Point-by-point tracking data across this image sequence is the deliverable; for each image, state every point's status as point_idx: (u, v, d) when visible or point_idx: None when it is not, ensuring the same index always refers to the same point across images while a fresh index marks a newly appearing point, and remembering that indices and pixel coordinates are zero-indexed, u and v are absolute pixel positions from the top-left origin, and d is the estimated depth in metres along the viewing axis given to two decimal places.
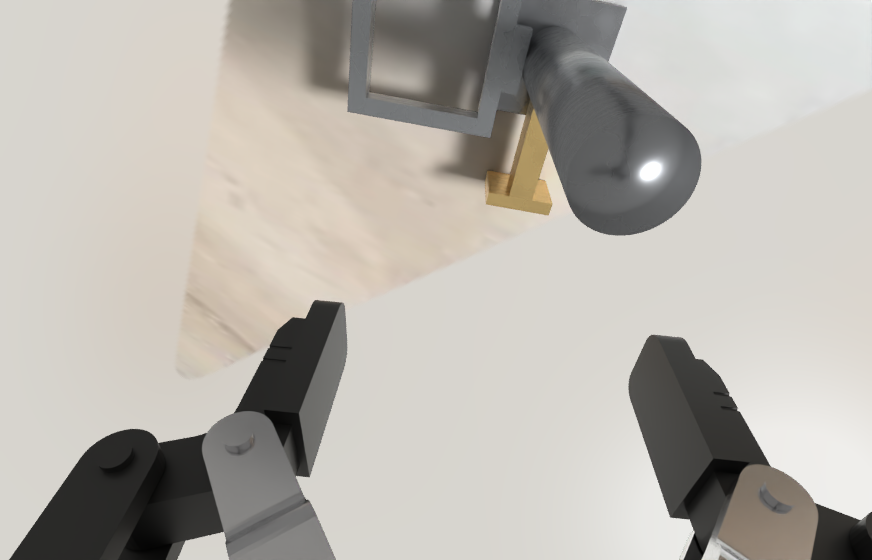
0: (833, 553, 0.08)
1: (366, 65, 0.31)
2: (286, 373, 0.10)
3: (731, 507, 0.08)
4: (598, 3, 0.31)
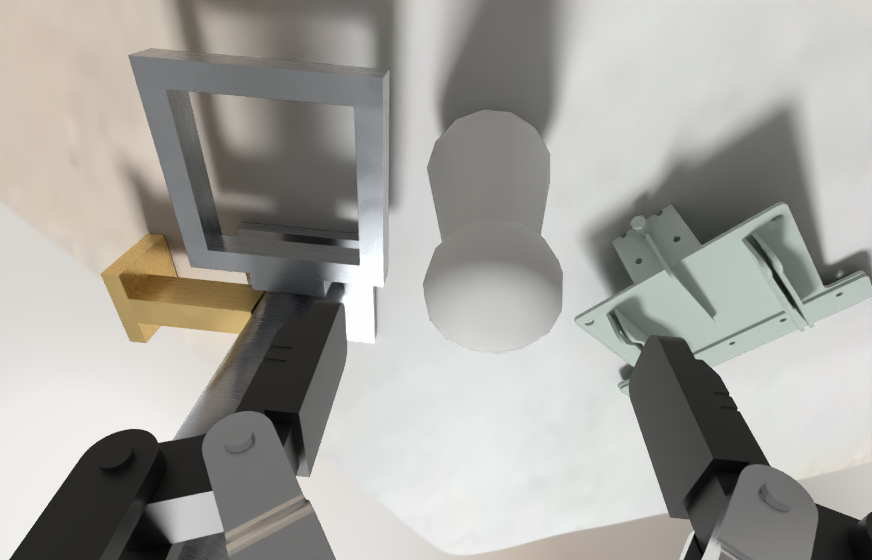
0: (833, 553, 0.08)
1: (214, 91, 0.19)
2: (286, 373, 0.10)
3: (731, 507, 0.08)
4: (372, 321, 0.30)
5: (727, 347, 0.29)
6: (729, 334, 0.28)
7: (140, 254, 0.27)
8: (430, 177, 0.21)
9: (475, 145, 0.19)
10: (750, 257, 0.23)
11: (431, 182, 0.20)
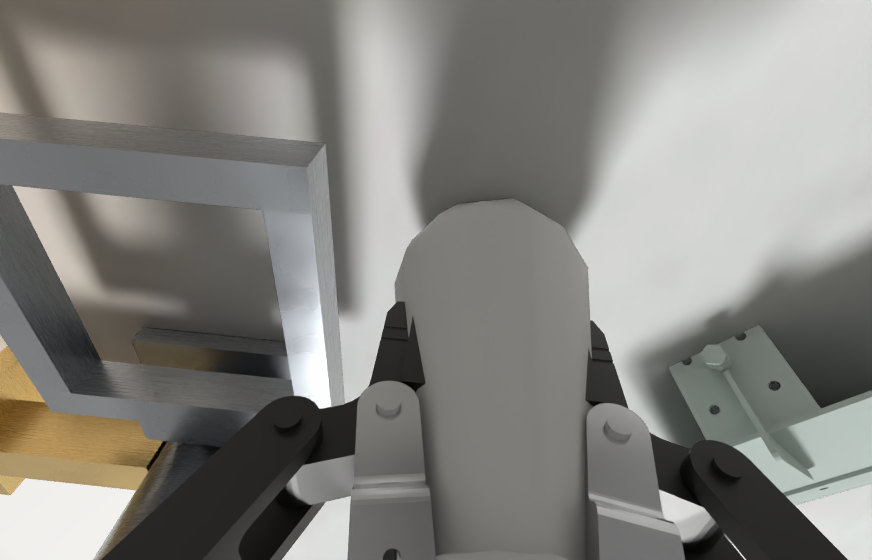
0: (664, 478, 0.09)
1: (24, 183, 0.11)
2: (412, 349, 0.10)
3: (589, 456, 0.08)
4: None
5: (816, 492, 0.22)
6: (822, 480, 0.21)
7: None
8: None
9: (469, 282, 0.11)
10: None
11: None
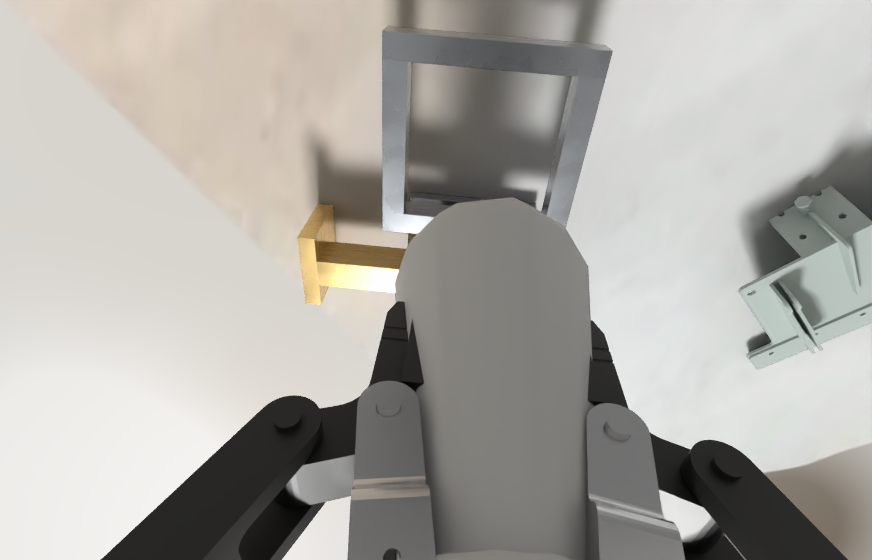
0: (663, 478, 0.09)
1: (452, 64, 0.22)
2: (412, 349, 0.10)
3: (589, 456, 0.08)
4: None
5: (857, 318, 0.32)
6: (862, 305, 0.31)
7: (321, 221, 0.29)
8: None
9: (469, 280, 0.11)
10: None
11: None
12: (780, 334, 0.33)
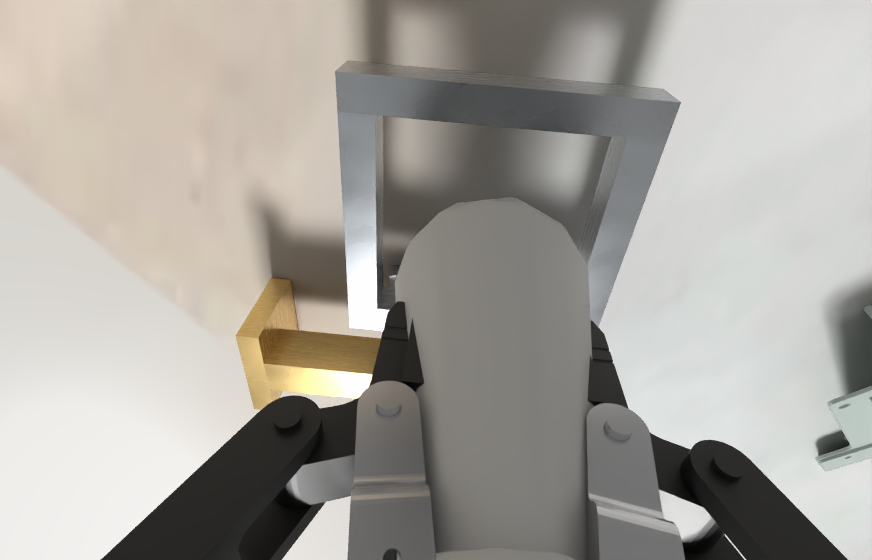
0: (663, 478, 0.09)
1: (440, 118, 0.15)
2: (411, 349, 0.10)
3: (589, 456, 0.08)
4: None
5: None
6: None
7: (272, 307, 0.22)
8: None
9: (469, 280, 0.11)
10: None
11: None
12: (864, 440, 0.26)
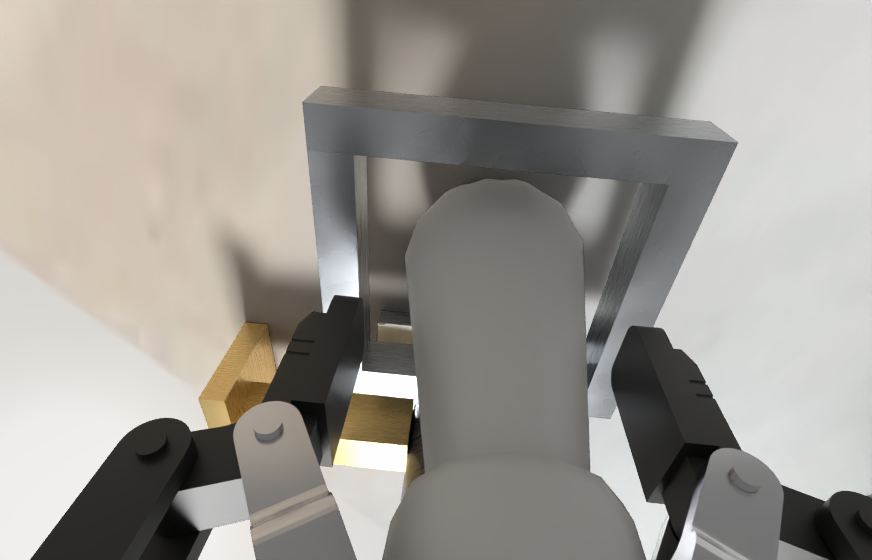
0: (798, 532, 0.08)
1: (435, 160, 0.12)
2: (310, 365, 0.10)
3: (703, 493, 0.08)
4: None
5: None
6: None
7: (244, 359, 0.19)
8: (408, 278, 0.14)
9: (475, 247, 0.12)
10: None
11: (409, 288, 0.14)
12: None
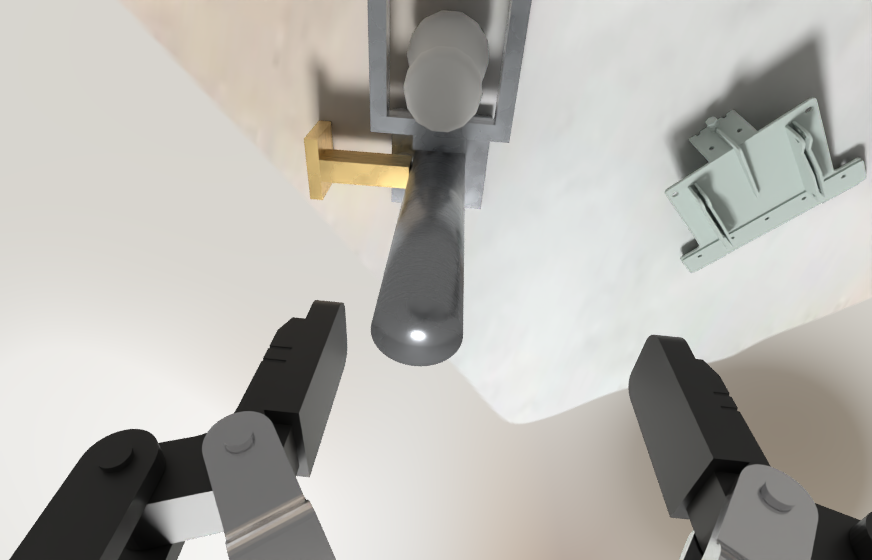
0: (833, 553, 0.08)
1: None
2: (286, 373, 0.10)
3: (731, 507, 0.08)
4: (482, 188, 0.40)
5: (763, 222, 0.41)
6: (765, 211, 0.40)
7: (322, 130, 0.37)
8: (408, 56, 0.32)
9: (436, 26, 0.29)
10: (788, 141, 0.35)
11: (409, 57, 0.31)
12: (704, 237, 0.41)
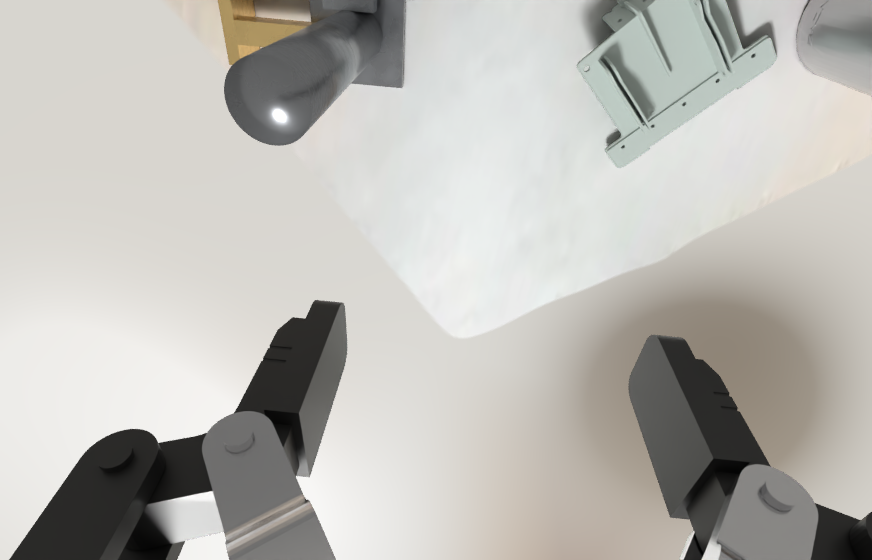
0: (833, 553, 0.08)
1: None
2: (286, 373, 0.10)
3: (731, 507, 0.08)
4: (401, 65, 0.41)
5: (681, 108, 0.42)
6: (682, 95, 0.41)
7: None
8: None
9: None
10: (691, 9, 0.36)
11: None
12: (625, 124, 0.43)
